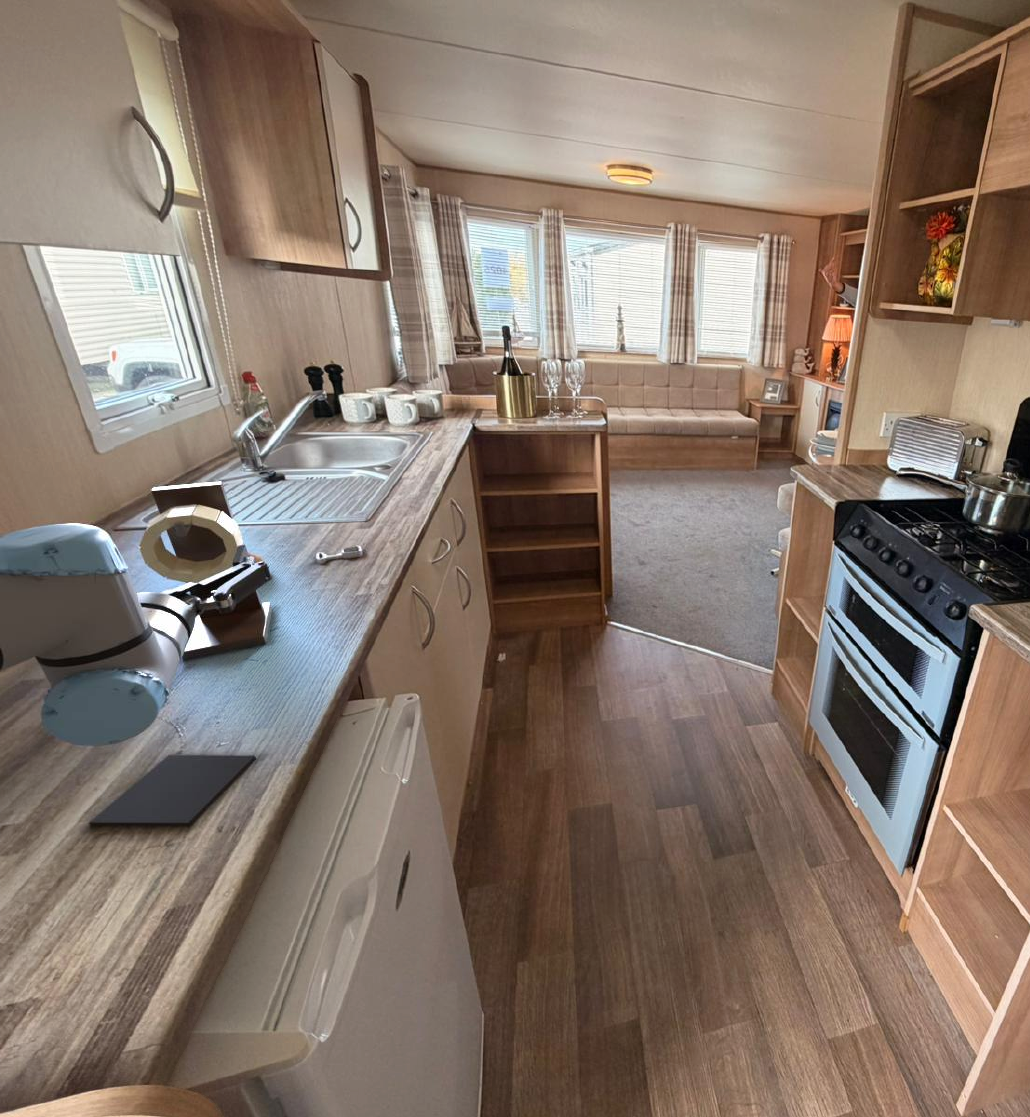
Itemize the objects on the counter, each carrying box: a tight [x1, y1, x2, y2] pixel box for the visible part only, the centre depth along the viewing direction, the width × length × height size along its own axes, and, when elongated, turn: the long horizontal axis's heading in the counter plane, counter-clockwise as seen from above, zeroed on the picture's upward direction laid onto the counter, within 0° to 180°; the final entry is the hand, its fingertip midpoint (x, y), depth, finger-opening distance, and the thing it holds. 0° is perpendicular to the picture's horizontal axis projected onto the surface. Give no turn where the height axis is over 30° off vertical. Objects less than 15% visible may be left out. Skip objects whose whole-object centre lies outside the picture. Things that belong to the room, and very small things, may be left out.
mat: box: [88, 754, 257, 828], centre depth 67 cm, size 10×10×1 cm
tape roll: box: [138, 504, 244, 584], centre depth 87 cm, size 5×10×10 cm, turn 122°
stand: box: [150, 481, 273, 662], centre depth 91 cm, size 13×10×24 cm
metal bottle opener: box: [315, 545, 363, 565], centre depth 123 cm, size 4×8×1 cm, turn 125°
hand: (181, 562), depth 80 cm, fingers open, 13 cm apart
